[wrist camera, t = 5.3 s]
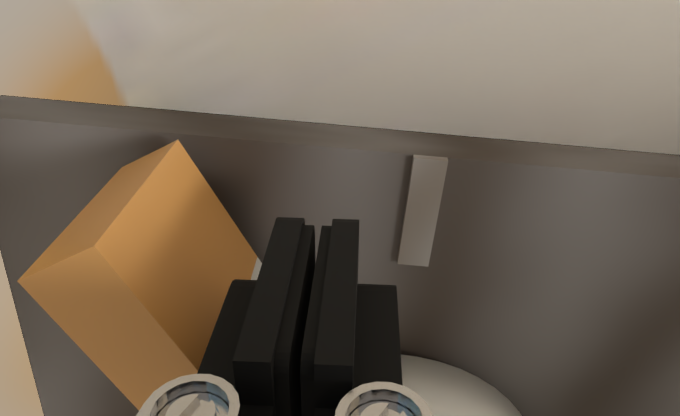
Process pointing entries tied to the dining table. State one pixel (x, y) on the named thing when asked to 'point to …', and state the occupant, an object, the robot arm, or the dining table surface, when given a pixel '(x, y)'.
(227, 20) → the dining table surface
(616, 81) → the dining table surface
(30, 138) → the dial board
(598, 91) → the dining table surface
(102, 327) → the white handled round piece
